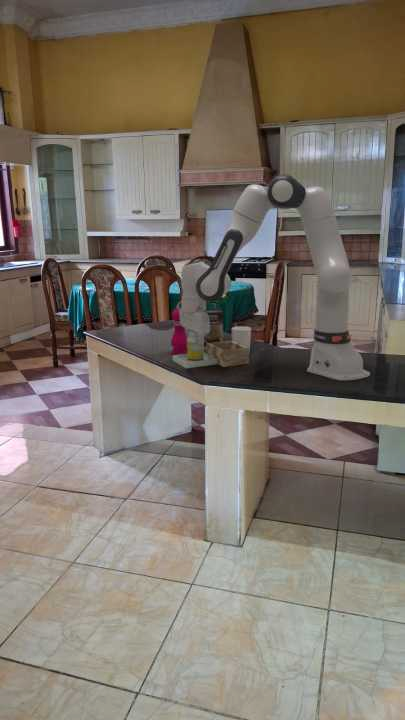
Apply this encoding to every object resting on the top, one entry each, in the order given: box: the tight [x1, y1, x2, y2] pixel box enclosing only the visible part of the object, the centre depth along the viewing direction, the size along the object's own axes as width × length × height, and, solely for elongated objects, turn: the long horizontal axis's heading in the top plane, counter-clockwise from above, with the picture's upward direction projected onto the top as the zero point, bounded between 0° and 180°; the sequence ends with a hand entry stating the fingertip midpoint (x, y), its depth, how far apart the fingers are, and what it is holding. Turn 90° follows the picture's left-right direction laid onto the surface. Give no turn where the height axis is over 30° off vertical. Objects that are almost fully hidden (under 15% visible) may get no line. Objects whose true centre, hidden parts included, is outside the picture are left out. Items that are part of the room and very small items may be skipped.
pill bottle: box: [186, 330, 205, 362], centre depth 203 cm, size 6×6×12 cm
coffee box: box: [204, 309, 224, 351], centre depth 224 cm, size 9×6×16 cm
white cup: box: [231, 326, 252, 353], centre depth 218 cm, size 8×8×10 cm
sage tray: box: [172, 352, 219, 369], centre depth 205 cm, size 13×13×2 cm
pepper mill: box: [170, 304, 187, 355], centre depth 217 cm, size 7×7×20 cm
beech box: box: [206, 340, 250, 368], centre depth 205 cm, size 15×11×6 cm
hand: (195, 341), depth 203 cm, fingers open, 8 cm apart
